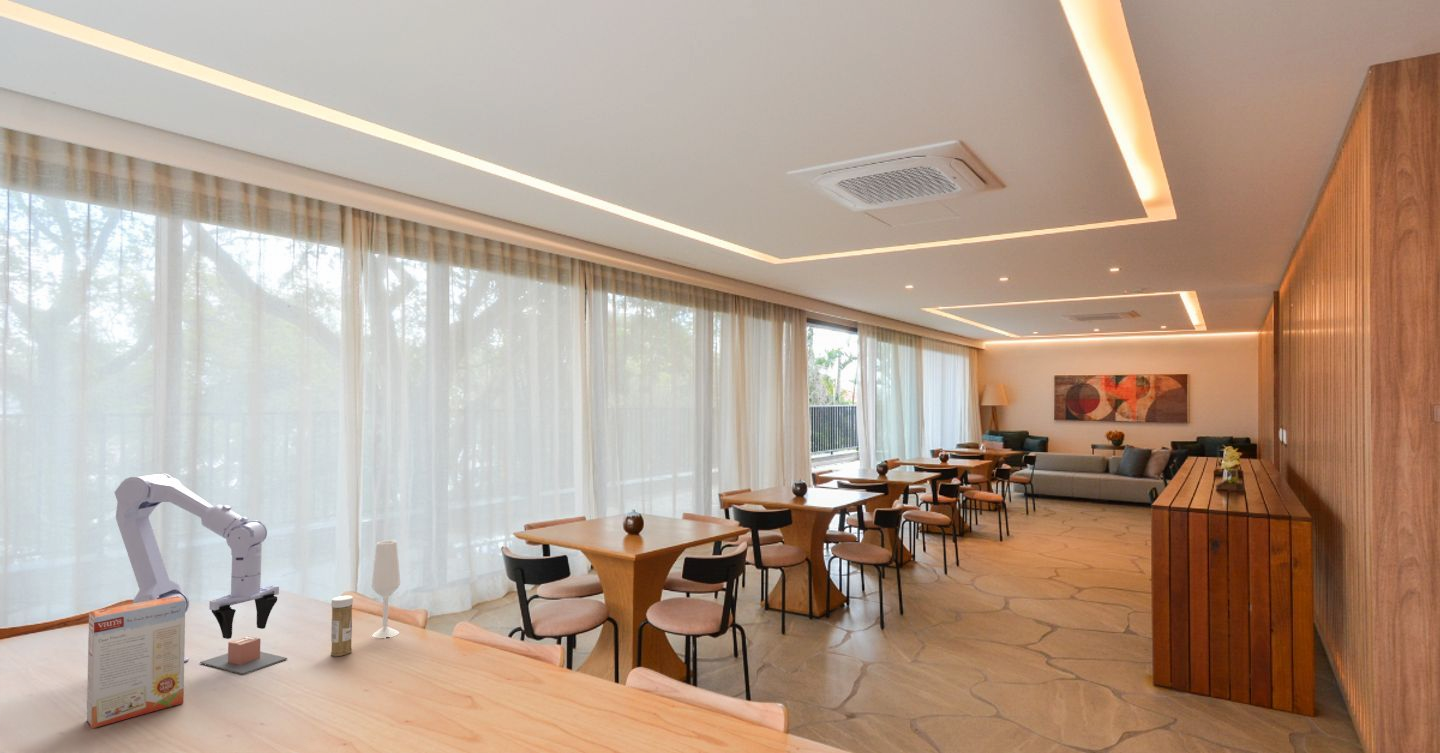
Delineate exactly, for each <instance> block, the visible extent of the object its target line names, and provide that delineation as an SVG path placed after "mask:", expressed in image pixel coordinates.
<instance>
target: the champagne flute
mask: <svg viewBox="0 0 1440 753" xmlns="http://www.w3.org/2000/svg"><path fill="white" fill-rule="evenodd" d="M373 563H374V564H373V571H372V581H371V588H372V589H373V591H374V592H375V593H376V594H377V595H378V596H380V597H381V598H382V600H383V601H382V602H383V603H382V604H383V605H382V627H381V628H379V629H378V630H377V631H375V632H374V633H372V634H373V635H372V634H371V635H372V636H373V637H378V638H384V639H387V638H386V637H390V638H393V637H396V636H397V635H399V634H400V632H399V631H398V630H396V629H395V628H391V627H389V597H390V596H392V595H393V594H394V593H395V592H396V591H397V590H398V588H399V587H400V585H401V577H400V576H401V575H400V564H399V554H398V542H397V540H392V539H391V540H381V541H378V542H376V547H375V555H374V562H373Z"/></svg>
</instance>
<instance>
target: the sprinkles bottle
mask: <svg viewBox="0 0 1440 753" xmlns="http://www.w3.org/2000/svg"><path fill="white" fill-rule="evenodd" d="M353 604H354V597H353V596H352V595H340V596H339V595H338V596H335V597H333V598H331V613H332V614H331V638H330V640H331V652H330V655H331V656H334V657H343V655H344V656H345V655H349V654H350V653H352V651H353V649H352V648H353V647H352V638H353Z"/></svg>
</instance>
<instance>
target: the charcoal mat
mask: <svg viewBox="0 0 1440 753" xmlns="http://www.w3.org/2000/svg"><path fill="white" fill-rule="evenodd" d="M286 659H287V660H288V657H285V656H280V655H276V654H272V653H270V652H269V653H268V652H263V651H260V658H259V659H256V660H253V661H250V662H247V663H244V664H241V665H239V664H235V663H231V662H228V652H227V653H223V654H221V655H218V656H214V657H212V658H209V659H205V660H202V661H200V662H199V664H200V663H202V664H201V665H203V664H206V665H205V666H207V665H210V666H209V667H211V666H213V667H212V668H214V667H218V668H221V669H220V670H222V669H225V670H224V671H226V670H228V671H227V672H230V671H231V673H233V672H235V673H234V674H237V673H238V675H242V676H243V675H246V674H250V673H252V672H255V670H256V671H258V669H259V670H261V669H265V668H267V667H270V666H272V664H273V665H275V663H276V664H279V663H281V661H282V662H284V660H285V661H286ZM278 662H279V663H278ZM269 665H270V666H269ZM266 666H267V667H266ZM218 668H217V669H218ZM249 672H250V673H249Z"/></svg>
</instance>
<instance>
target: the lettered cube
mask: <svg viewBox="0 0 1440 753" xmlns="http://www.w3.org/2000/svg"><path fill="white" fill-rule="evenodd" d="M227 646H228V649H227V653H228V662H231V663H235V664H239V665H241V664H244V663H247V662H250V661H253V660H256V659H259V658H260V652H261V638H260V637H254V636H249V635H247V636H245V637H241V638H238V639H235V640H231V641H228V645H227Z"/></svg>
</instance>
